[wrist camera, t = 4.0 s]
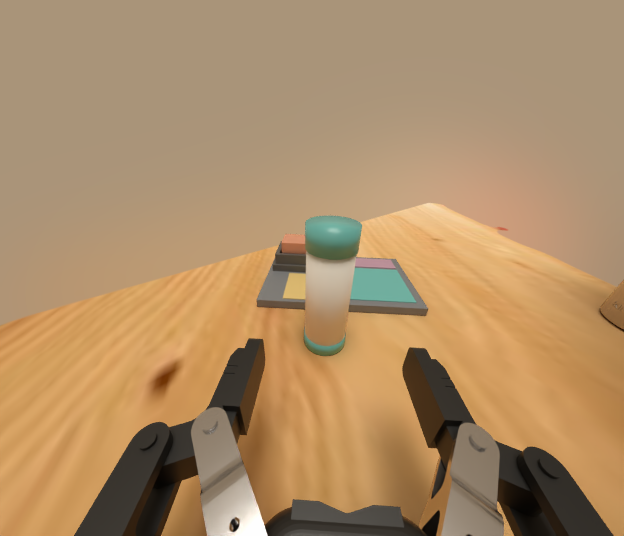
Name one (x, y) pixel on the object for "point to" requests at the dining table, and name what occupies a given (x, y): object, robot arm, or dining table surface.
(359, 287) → the colouring board
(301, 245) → the button
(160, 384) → the dining table surface
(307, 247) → the marker
